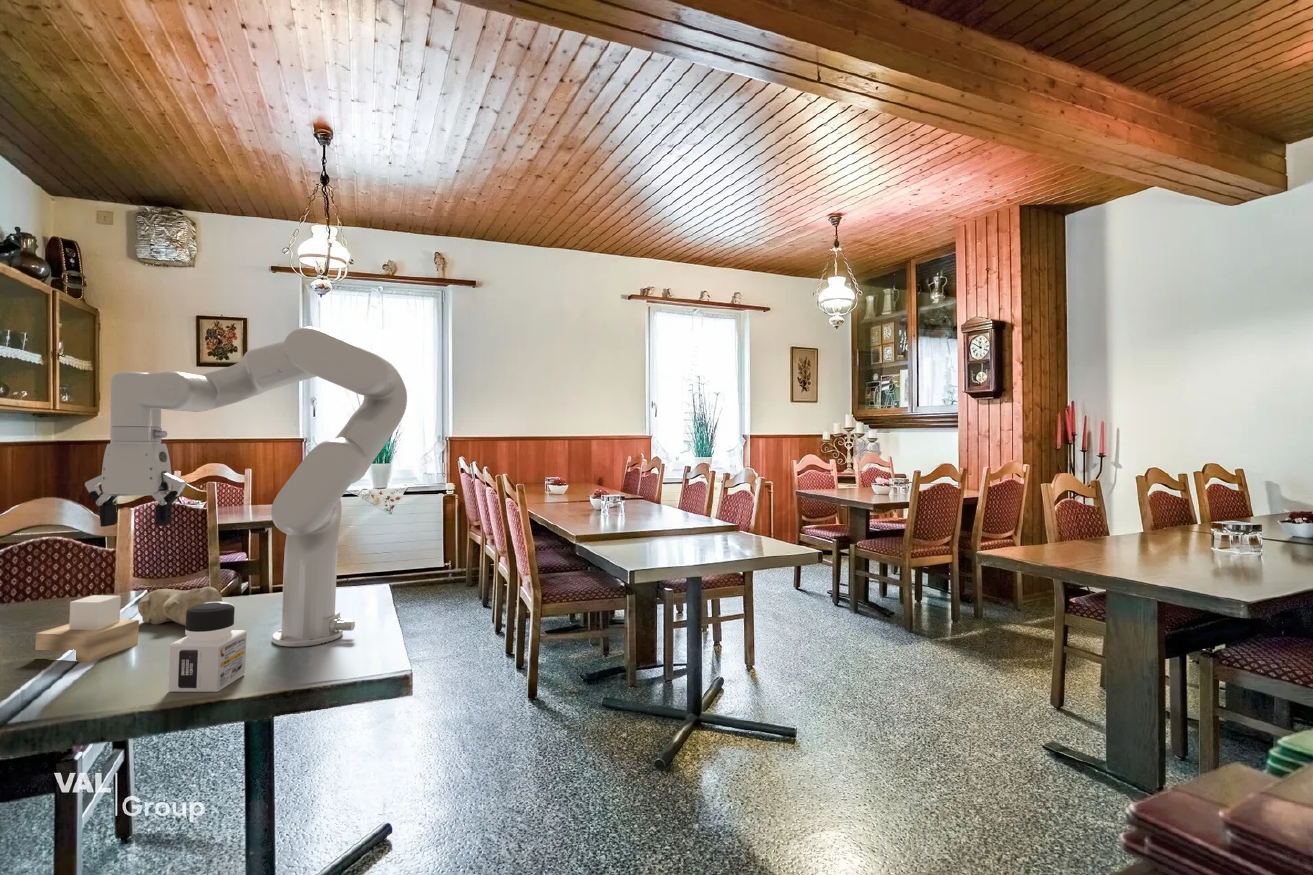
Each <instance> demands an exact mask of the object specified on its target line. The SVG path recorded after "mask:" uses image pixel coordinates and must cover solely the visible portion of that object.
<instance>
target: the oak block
mask: <svg viewBox="0 0 1313 875" xmlns="http://www.w3.org/2000/svg"><path fill="white" fill-rule="evenodd" d="M139 626H140V619H127V618H126V619H124V618H120V622H118V623H116V624H113V625H110V626H107V627H105V628H102V629H99V630H69V623H66V624H64V625H60V626H57V627H53V628H50V629H45V630H42V631H40V632H36V633H35V648H34V649H35V650H50V651H52V650H53V651H55V650H56V651H67V650H73V649H74V650H76V660H77V662H76V663H91V662H95V661H97V660H99V659H100V660H101V659H102V658H105V657H107V656H110V655H114V654H116V653H119V652H121V651H124V650H126V649H130V648H131V647H134V646H137V645H139V630H140V629H139Z"/></svg>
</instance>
